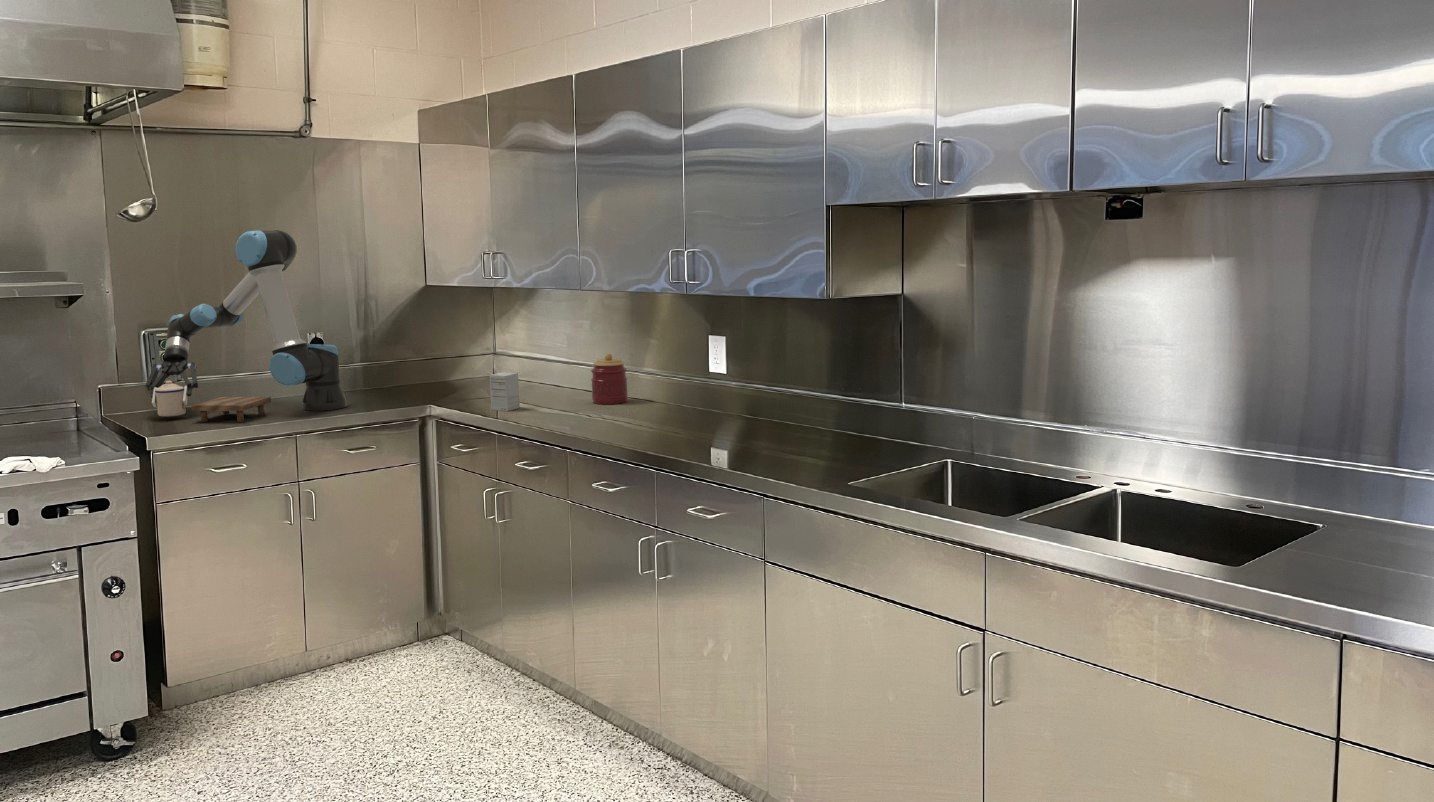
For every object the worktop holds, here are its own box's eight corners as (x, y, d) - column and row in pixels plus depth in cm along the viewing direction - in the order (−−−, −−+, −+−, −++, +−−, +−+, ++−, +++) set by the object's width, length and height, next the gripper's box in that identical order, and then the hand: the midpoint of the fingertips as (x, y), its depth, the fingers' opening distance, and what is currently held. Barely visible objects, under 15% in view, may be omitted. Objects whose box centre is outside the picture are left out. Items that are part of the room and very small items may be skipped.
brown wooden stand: (272, 413, 373) (270, 396, 372) (243, 423, 355) (242, 405, 354) (223, 413, 375) (222, 396, 374) (193, 422, 358) (191, 405, 357)
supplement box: (503, 407, 379) (501, 371, 377) (520, 408, 376) (518, 372, 374) (490, 410, 373) (488, 374, 371) (507, 411, 369) (505, 375, 367)
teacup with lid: (190, 414, 366) (187, 380, 364) (162, 417, 360) (158, 383, 358) (179, 410, 375) (175, 377, 373) (151, 413, 369) (147, 380, 367)
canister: (630, 399, 392) (629, 351, 389) (624, 404, 379) (622, 355, 376) (596, 399, 393) (594, 351, 390) (588, 405, 380) (586, 355, 377)
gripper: (212, 357, 382) (206, 408, 369) (146, 360, 377) (138, 412, 365) (207, 344, 376) (201, 395, 363) (140, 347, 371) (131, 399, 359)
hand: (169, 403), depth 364 cm, fingers closed on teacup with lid, 9 cm apart
